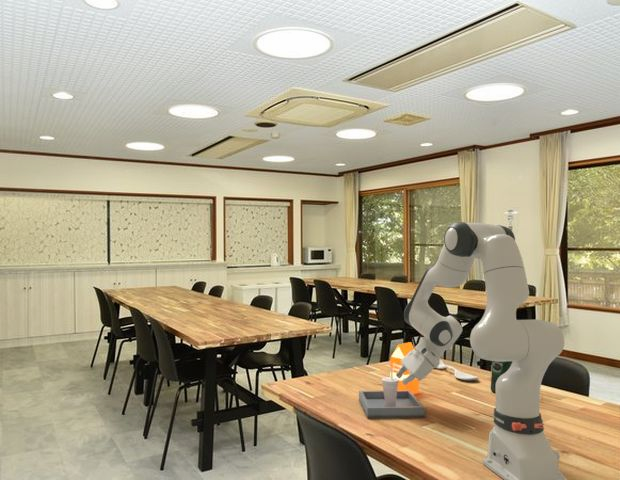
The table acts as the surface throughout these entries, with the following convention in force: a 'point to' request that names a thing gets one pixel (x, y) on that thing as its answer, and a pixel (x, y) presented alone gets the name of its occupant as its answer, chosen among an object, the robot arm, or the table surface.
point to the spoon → (457, 372)
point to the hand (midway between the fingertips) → (400, 380)
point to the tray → (404, 407)
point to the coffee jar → (498, 372)
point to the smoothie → (390, 389)
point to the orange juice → (396, 364)
